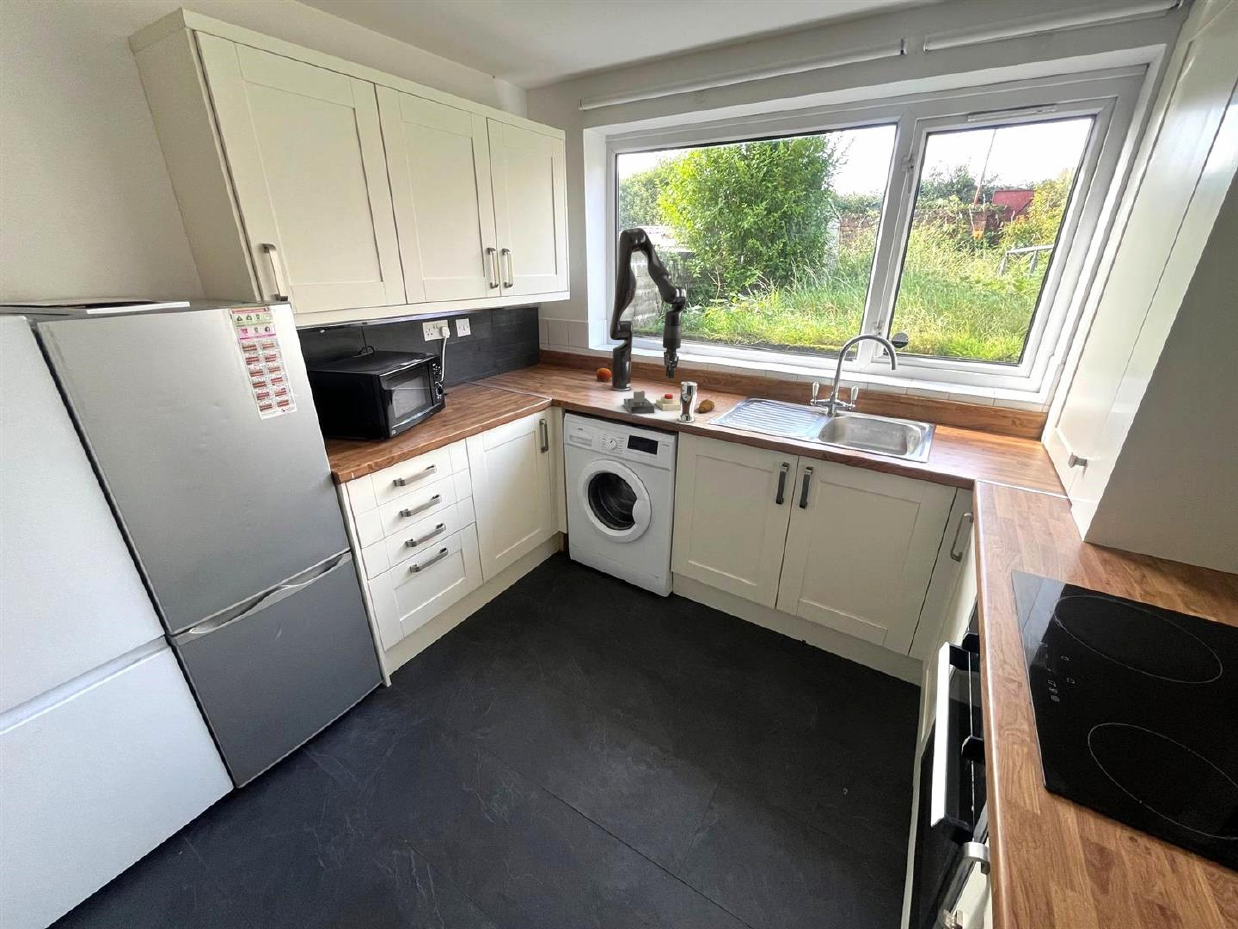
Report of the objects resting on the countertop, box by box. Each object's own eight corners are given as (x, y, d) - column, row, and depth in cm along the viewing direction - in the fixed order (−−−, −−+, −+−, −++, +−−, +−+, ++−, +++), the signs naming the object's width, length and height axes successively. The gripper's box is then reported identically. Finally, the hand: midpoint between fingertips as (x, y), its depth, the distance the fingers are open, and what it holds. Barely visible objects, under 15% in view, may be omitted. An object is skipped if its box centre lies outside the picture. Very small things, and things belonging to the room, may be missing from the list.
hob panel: (623, 405, 220) (623, 398, 219) (645, 404, 222) (645, 397, 221) (631, 413, 208) (631, 406, 206) (654, 412, 210) (654, 405, 209)
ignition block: (655, 403, 224) (656, 395, 222) (672, 403, 226) (673, 394, 224) (663, 410, 214) (663, 401, 212) (680, 409, 216) (681, 400, 214)
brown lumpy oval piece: (709, 415, 209) (710, 403, 207) (693, 412, 212) (694, 401, 210) (719, 407, 220) (720, 396, 218) (704, 405, 223) (705, 394, 221)
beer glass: (674, 419, 201) (676, 383, 195) (684, 416, 206) (687, 380, 200) (688, 423, 196) (691, 385, 191) (698, 420, 201) (701, 383, 196)
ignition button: (663, 397, 220) (663, 393, 219) (671, 397, 220) (671, 393, 220) (665, 399, 216) (666, 395, 216) (673, 399, 217) (673, 395, 217)
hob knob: (633, 402, 213) (634, 391, 211) (633, 401, 214) (633, 390, 212) (644, 402, 214) (644, 391, 212) (643, 401, 215) (643, 390, 213)
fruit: (594, 379, 261) (595, 365, 263) (596, 384, 269) (598, 370, 270) (609, 380, 260) (610, 366, 261) (611, 385, 268) (612, 371, 269)
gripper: (658, 334, 214) (656, 374, 221) (668, 338, 201) (666, 380, 208) (675, 334, 216) (672, 373, 222) (686, 338, 203) (683, 380, 209)
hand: (669, 377), depth 215 cm, fingers open, 3 cm apart
